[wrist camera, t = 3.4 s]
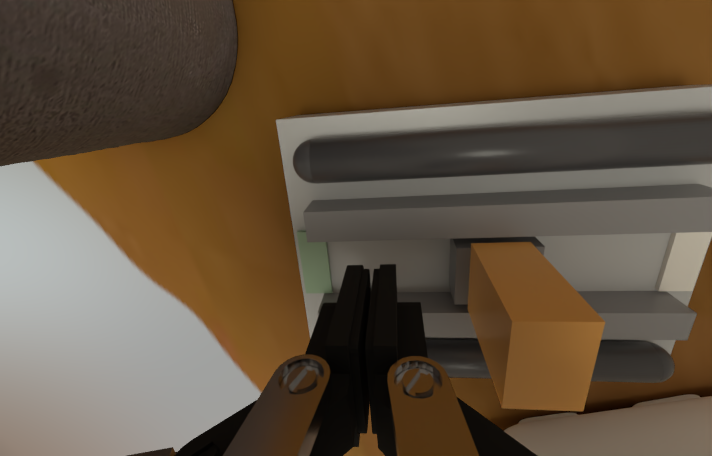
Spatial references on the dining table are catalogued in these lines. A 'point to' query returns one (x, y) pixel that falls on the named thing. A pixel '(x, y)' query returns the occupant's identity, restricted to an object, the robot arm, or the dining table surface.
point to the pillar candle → (109, 72)
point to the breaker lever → (526, 322)
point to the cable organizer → (623, 430)
